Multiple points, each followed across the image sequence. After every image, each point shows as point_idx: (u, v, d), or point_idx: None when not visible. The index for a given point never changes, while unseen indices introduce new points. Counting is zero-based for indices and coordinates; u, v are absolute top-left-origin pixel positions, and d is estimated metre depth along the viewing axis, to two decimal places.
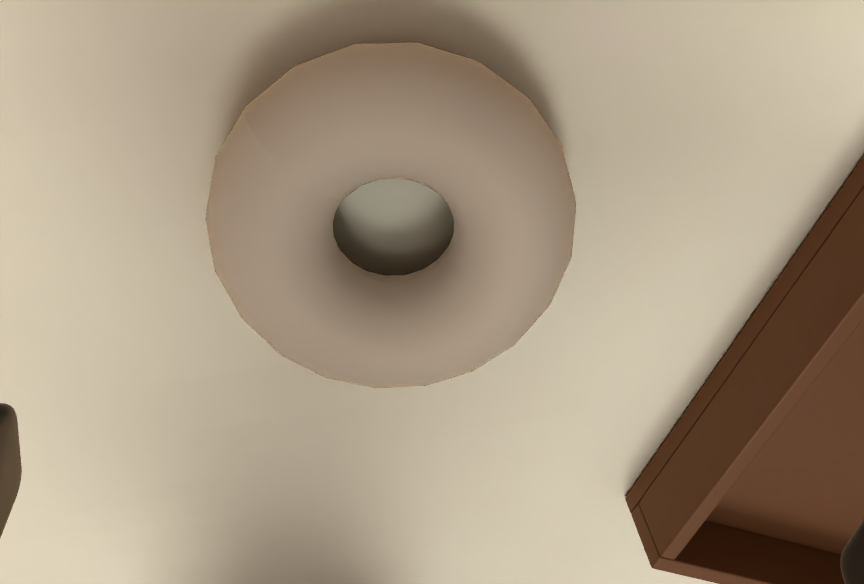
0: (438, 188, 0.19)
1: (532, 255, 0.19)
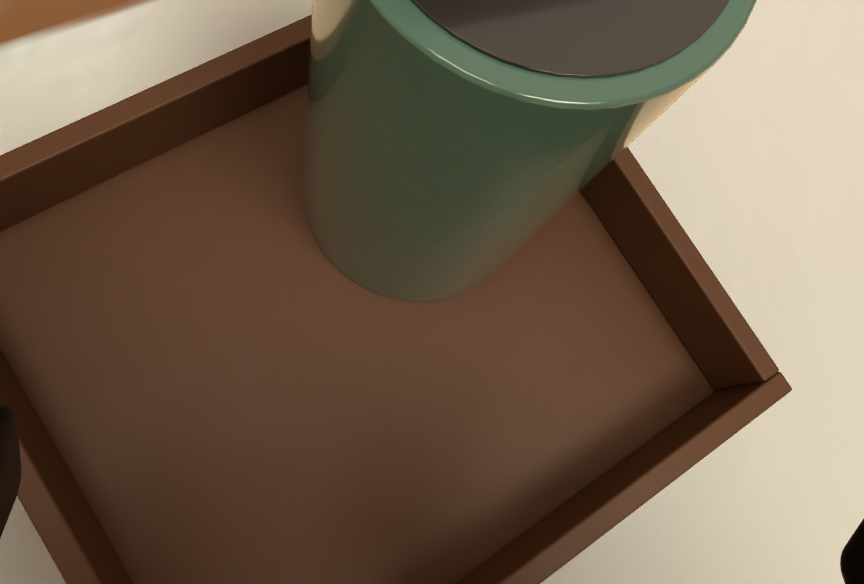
0: None
1: None
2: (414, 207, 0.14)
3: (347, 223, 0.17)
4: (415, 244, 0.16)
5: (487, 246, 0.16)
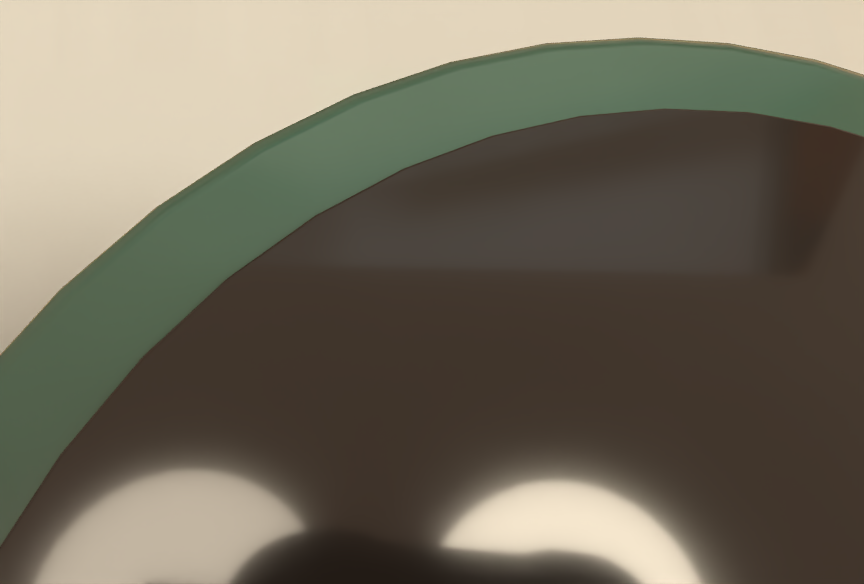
0: None
1: None
2: None
3: None
4: None
5: None
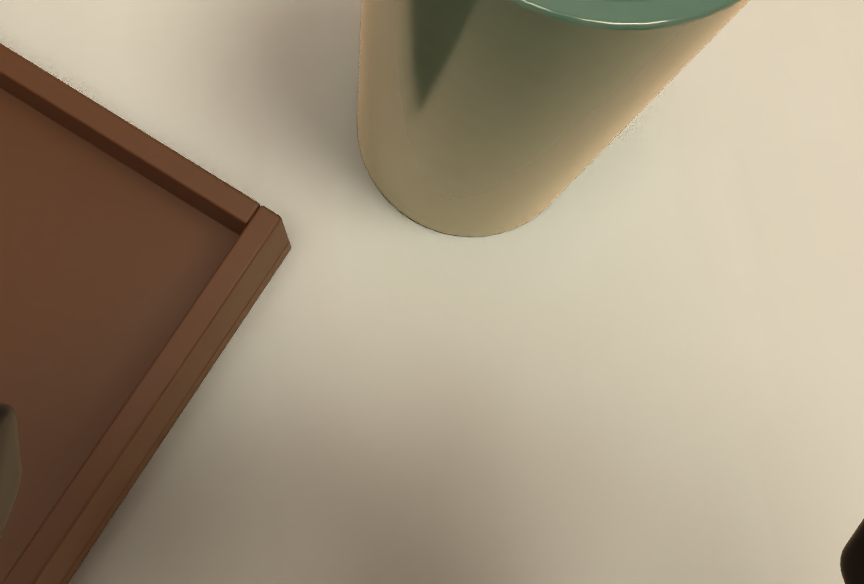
0: None
1: None
2: (472, 140, 0.14)
3: (405, 162, 0.18)
4: (473, 178, 0.16)
5: (544, 177, 0.16)
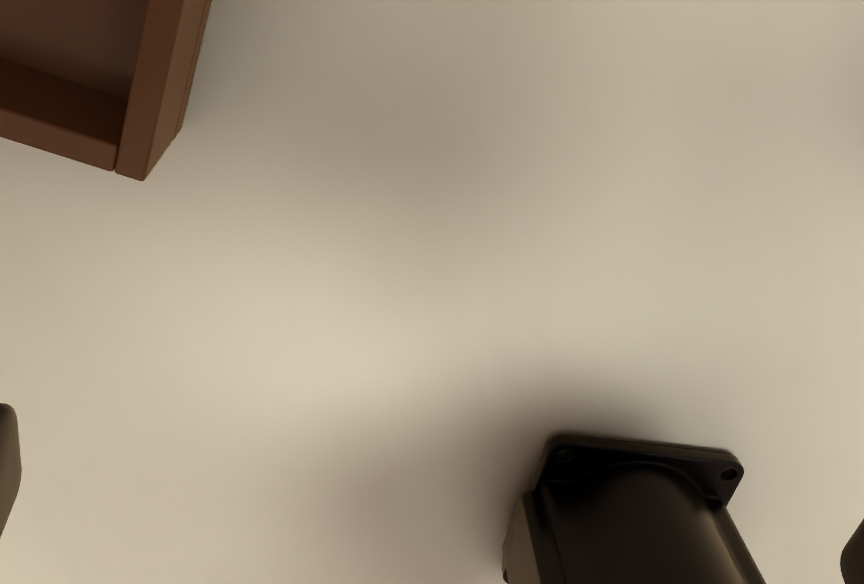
0: None
1: None
2: None
3: None
4: None
5: None
